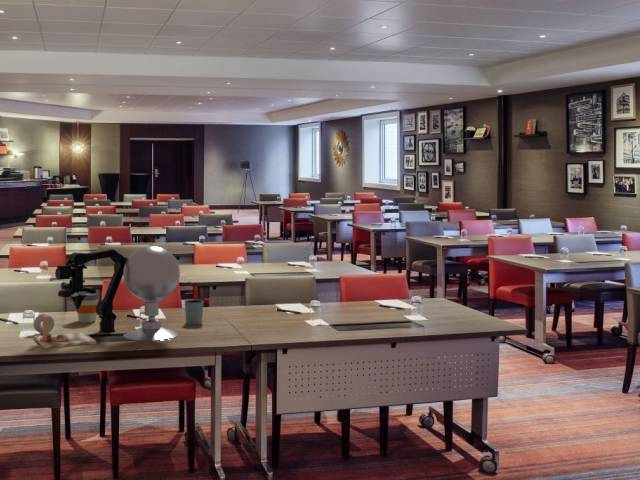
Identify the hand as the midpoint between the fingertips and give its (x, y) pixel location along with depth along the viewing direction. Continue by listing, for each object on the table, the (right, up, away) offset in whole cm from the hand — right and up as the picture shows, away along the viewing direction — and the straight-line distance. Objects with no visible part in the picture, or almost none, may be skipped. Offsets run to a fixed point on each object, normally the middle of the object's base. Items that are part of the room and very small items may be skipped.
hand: (77, 309), depth 420 cm
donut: (-17, -13, +3) cm, 22 cm away
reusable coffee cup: (-5, -10, +37) cm, 38 cm away
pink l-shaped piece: (-6, -13, -18) cm, 23 cm away
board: (-2, -14, -13) cm, 20 cm away
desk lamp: (+36, -14, +5) cm, 39 cm away
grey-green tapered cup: (+52, -11, +38) cm, 66 cm away
